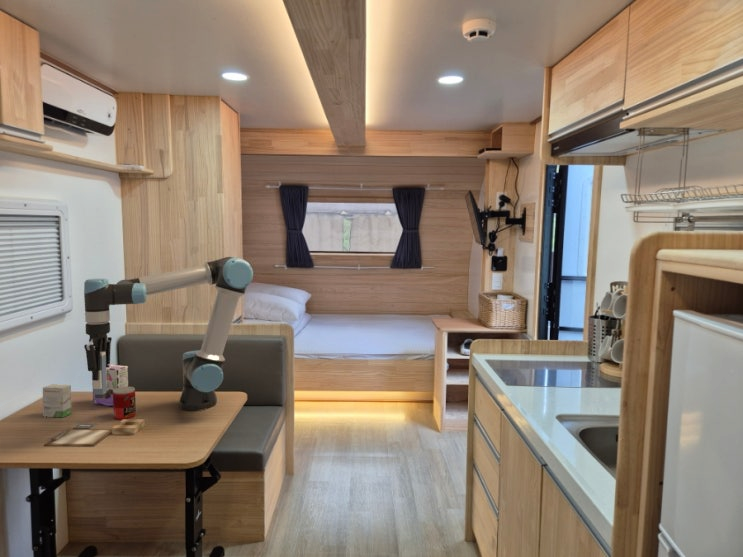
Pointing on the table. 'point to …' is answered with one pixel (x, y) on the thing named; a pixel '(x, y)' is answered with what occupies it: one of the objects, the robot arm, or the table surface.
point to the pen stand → (128, 427)
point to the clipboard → (79, 437)
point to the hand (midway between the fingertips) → (100, 387)
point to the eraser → (101, 392)
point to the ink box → (56, 400)
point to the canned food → (124, 403)
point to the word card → (83, 426)
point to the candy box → (112, 383)
